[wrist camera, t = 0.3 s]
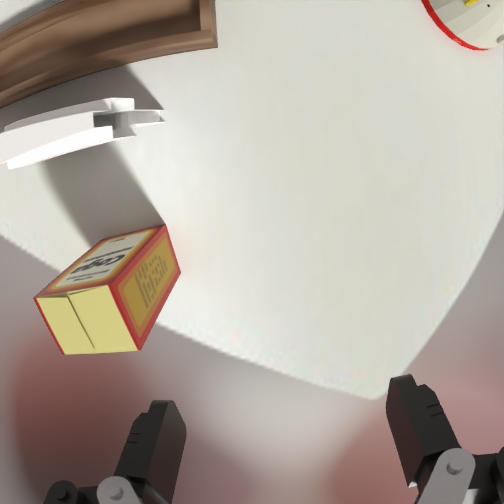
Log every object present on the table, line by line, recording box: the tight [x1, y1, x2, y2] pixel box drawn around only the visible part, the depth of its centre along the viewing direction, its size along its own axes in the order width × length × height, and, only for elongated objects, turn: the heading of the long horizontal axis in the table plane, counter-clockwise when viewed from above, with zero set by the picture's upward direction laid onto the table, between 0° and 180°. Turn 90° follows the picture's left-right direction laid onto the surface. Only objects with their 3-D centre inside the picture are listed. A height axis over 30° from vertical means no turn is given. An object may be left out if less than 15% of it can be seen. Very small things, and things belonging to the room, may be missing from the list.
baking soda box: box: [34, 224, 181, 354], centre depth 32 cm, size 10×6×16 cm
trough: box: [0, 0, 218, 108], centre depth 27 cm, size 10×34×4 cm, turn 94°
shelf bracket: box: [0, 98, 163, 170], centre depth 31 cm, size 6×25×13 cm, turn 93°
